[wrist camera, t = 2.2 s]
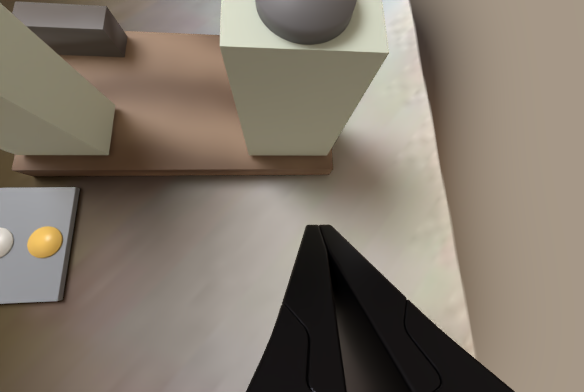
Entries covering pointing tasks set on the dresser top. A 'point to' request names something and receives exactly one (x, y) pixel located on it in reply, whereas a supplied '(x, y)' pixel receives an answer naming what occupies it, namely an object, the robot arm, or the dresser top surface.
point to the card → (35, 242)
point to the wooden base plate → (152, 101)
